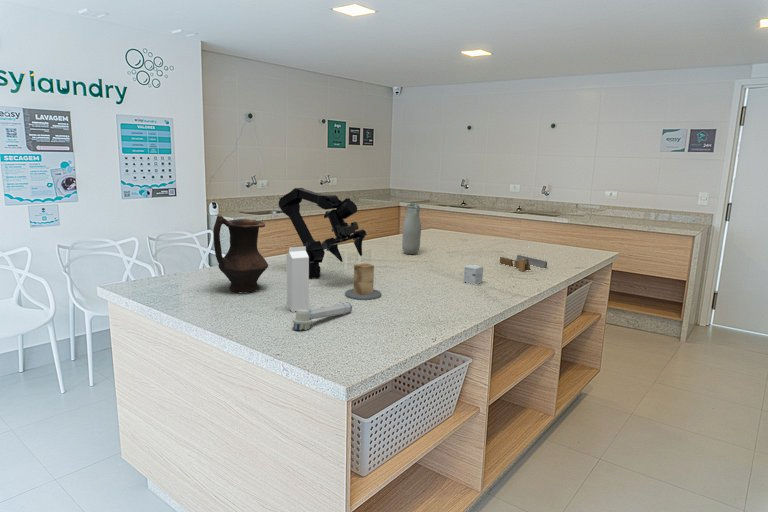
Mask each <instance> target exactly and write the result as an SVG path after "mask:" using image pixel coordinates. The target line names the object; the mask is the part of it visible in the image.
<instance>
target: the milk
mask: <svg viewBox="0 0 768 512" xmlns="http://www.w3.org/2000/svg"><path fill="white" fill-rule="evenodd" d="M285 263H286V265H285V266H286V308H287V310H289V309H290V310H291V311H290V310H289V311H290V312H291V313H296V312H295V311H298V310H300V309H305V310H310V309H309V308H310V304H309V303H310V295H309V293H310V291H309V290H310V279H309V256H308V254H307V252H306V247H305V246H304V247H303V246H292V247H291V246H290V247H289V249H288V252H287V254H286V259H285Z"/></svg>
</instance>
